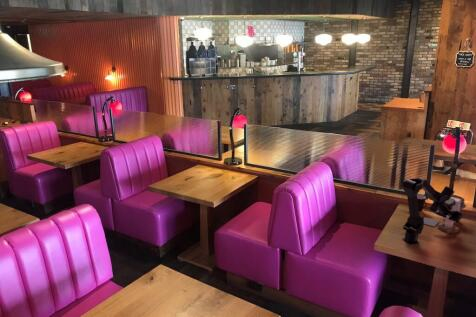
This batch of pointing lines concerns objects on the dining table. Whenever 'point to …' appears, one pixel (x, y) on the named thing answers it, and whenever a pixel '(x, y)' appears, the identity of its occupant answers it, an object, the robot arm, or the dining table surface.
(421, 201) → the coffee mug
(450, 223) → the cream shaker
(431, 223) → the grey mat
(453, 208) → the skincare box
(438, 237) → the dining table surface
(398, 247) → the dining table surface
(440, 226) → the walnut pocket
